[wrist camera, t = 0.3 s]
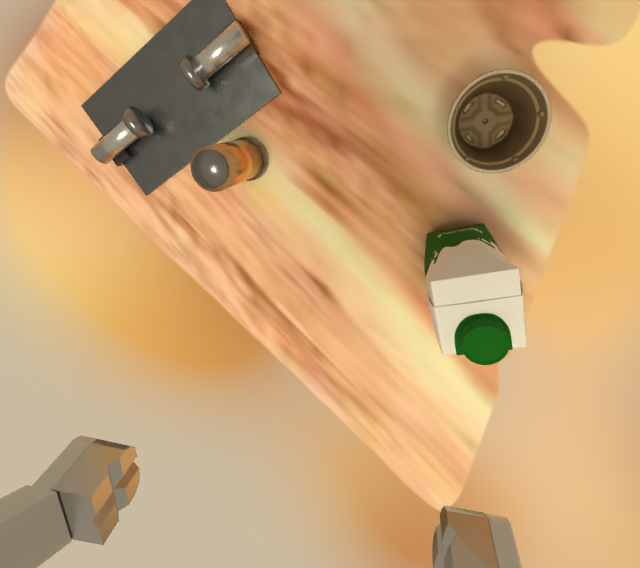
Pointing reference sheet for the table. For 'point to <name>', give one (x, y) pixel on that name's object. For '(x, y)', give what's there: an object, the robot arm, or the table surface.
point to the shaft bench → (179, 94)
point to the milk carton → (473, 295)
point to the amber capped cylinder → (229, 163)
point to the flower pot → (499, 121)
